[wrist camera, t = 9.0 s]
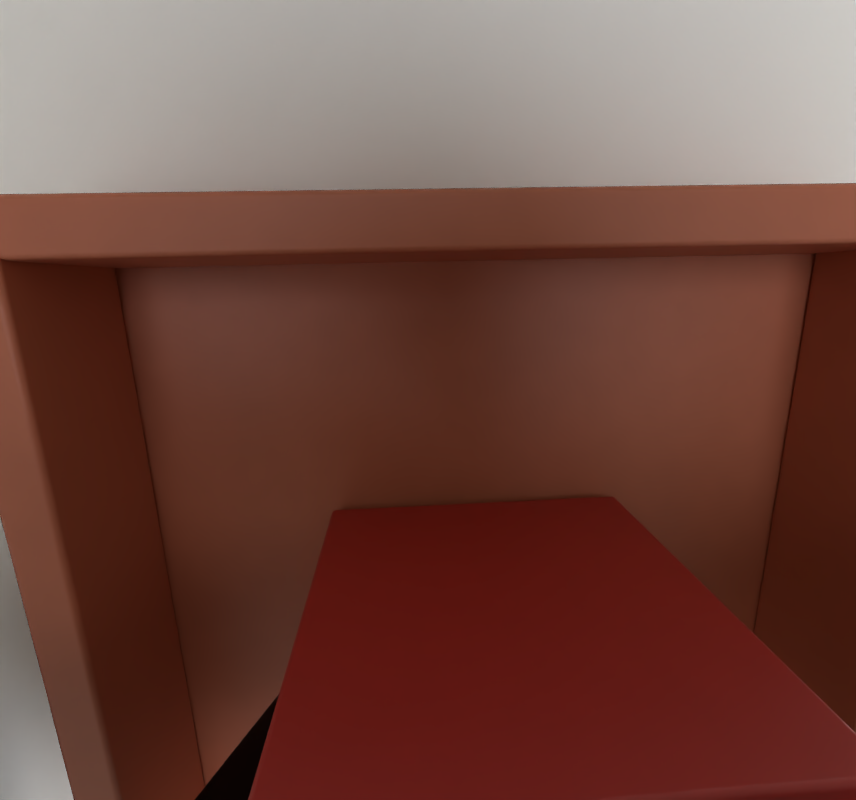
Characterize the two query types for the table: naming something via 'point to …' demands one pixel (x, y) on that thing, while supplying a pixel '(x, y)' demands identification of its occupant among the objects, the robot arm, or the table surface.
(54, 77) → the table surface
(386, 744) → the red block
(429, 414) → the terracotta tray
